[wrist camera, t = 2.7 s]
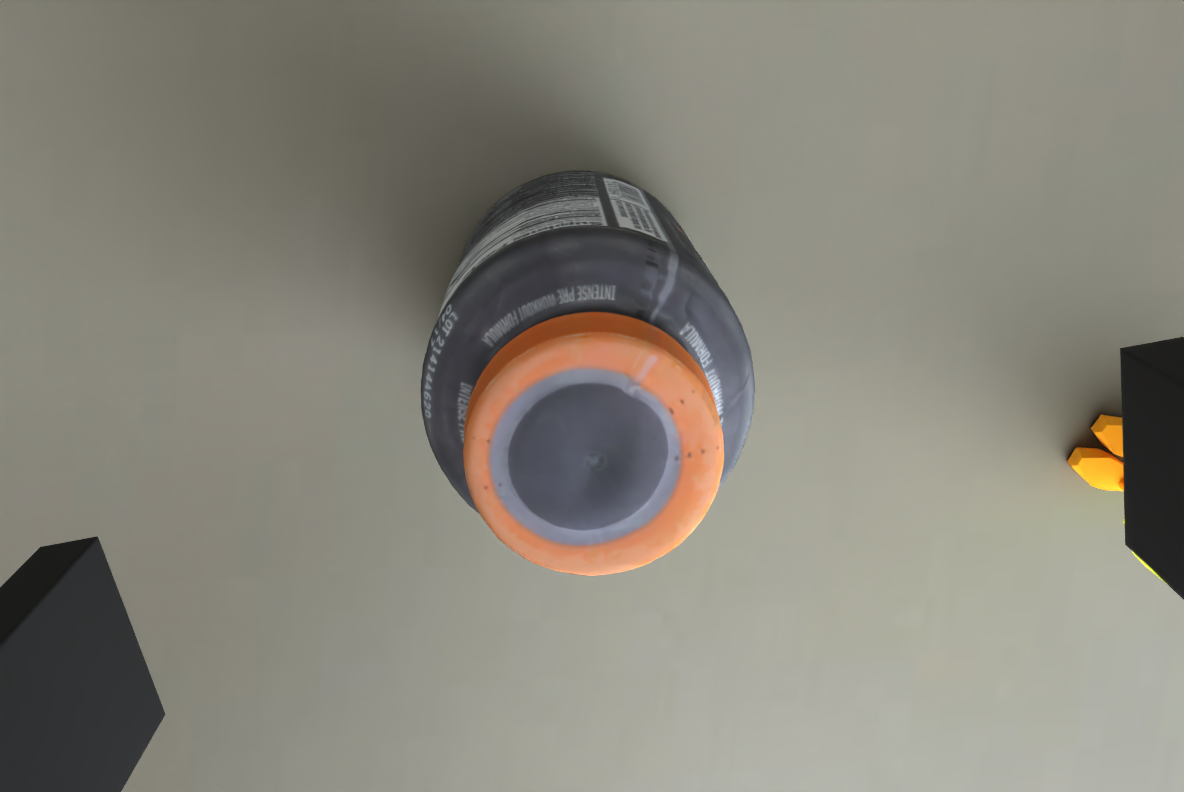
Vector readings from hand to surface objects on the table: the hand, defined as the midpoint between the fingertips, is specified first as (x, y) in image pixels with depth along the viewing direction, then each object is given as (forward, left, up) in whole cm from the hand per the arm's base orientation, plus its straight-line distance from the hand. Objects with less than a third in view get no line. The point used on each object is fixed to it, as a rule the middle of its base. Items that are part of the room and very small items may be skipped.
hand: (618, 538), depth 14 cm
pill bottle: (0, 0, -14) cm, 14 cm away
